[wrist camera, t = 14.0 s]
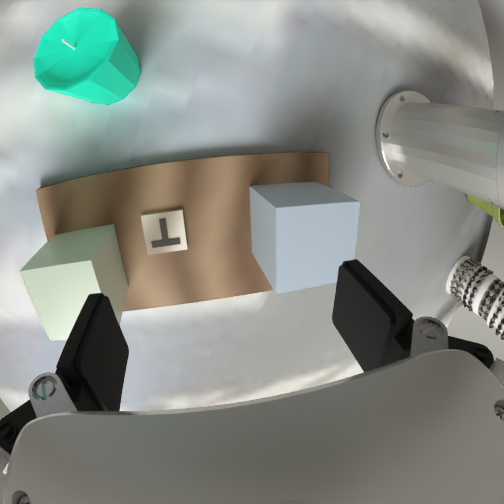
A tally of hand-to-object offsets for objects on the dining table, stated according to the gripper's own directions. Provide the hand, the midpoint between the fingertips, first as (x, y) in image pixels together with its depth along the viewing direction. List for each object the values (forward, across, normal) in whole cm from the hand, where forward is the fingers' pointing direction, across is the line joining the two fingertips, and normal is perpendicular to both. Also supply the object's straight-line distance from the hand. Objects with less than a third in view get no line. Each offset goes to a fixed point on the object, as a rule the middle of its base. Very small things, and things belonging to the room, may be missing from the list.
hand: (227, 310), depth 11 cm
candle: (+18, +8, -13) cm, 24 cm away
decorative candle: (+20, -45, +18) cm, 53 cm away
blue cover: (+17, -7, +3) cm, 19 cm away
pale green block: (+16, +13, +4) cm, 21 cm away
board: (+18, +3, +4) cm, 18 cm away
